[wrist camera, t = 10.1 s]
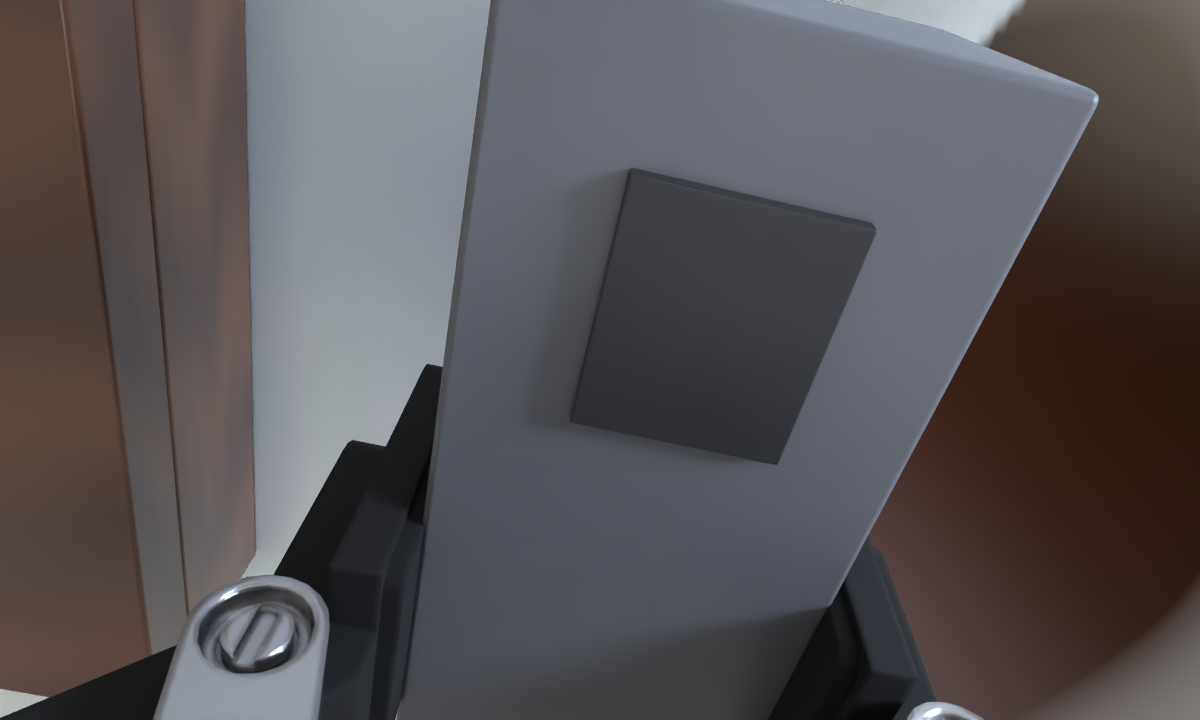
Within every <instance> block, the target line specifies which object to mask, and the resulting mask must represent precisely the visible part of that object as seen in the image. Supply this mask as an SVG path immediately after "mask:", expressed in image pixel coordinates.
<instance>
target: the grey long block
mask: <svg viewBox="0 0 1200 720" xmlns="http://www.w3.org/2000/svg"><path fill="white" fill-rule="evenodd" d="M1098 100H1099V97H1098V95H1097V94H1096V93H1095V92H1094V91H1093V90H1092V89H1090V88H1087V87H1084V86H1082V85H1079V84H1077V83H1075V82H1072V81H1069V80H1067V79H1065V78H1062V77H1060V76H1057V75H1054V74H1052V73H1049V72H1047V71H1044V70H1042V69H1039V68H1037V67H1034V66H1032V65H1029V64H1027V63H1024V62H1022V61H1019V60H1017V59H1014V58H1012V57H1009V56H1007V55H1004V54H1002V53H999V52H997V51H994V50H992V49H989V48H987V47H984V46H982V45H979V44H977V43H974V42H972V41H969V40H967V39H964V38H962V37H959V36H957V35H954V34H952V33H949V32H947V31H944V30H942V29H938V28H934V27H930V26H926V25H922V24H918V23H914V22H910V21H906V20H902V19H898V18H894V17H890V16H886V15H882V14H878V13H874V12H870V11H866V10H862V9H858V8H854V7H850V6H846V5H842V4H838V3H834V2H830V1H825V0H491V4H490V12H489V19H488V27H487V35H486V42H485V50H484V58H483V65H482V73H481V80H480V88H479V96H478V103H477V111H476V119H475V126H474V134H473V141H472V149H471V157H470V164H469V172H468V180H467V187H466V195H465V202H464V210H463V218H462V225H461V233H460V241H459V248H458V256H457V263H456V271H455V279H454V286H453V294H452V302H451V309H450V317H449V324H448V332H447V340H446V347H445V355H444V363H443V370H442V378H441V385H440V393H439V401H438V408H437V416H436V424H435V431H434V439H433V446H432V454H431V462H430V469H429V477H428V485H427V492H426V500H425V508H424V515H423V524H424V533H423V541H422V548H421V555H420V563H419V570H418V578H417V585H416V592H415V600H414V607H413V615H412V622H411V629H410V637H409V644H408V652H407V659H406V666H405V674H404V681H403V689H402V696H401V701H400V705H399V708H398V713H397V720H768V719H769V717H770V715H771V713H772V711H773V709H774V708H775V706H776V704H777V702H778V700H779V698H780V696H781V694H782V693H783V691H784V689H785V687H786V685H787V683H788V681H789V679H790V678H791V676H792V674H793V672H794V670H795V668H796V666H797V664H798V663H799V661H800V659H801V657H802V655H803V653H804V651H805V649H806V648H807V646H808V644H809V642H810V640H811V638H812V636H813V634H814V633H815V631H816V629H817V627H818V625H819V623H820V621H821V619H822V618H823V616H824V614H825V612H826V610H827V608H828V606H831V604H832V602H833V600H834V598H835V596H836V595H837V593H838V591H839V589H840V587H841V585H842V583H843V581H844V580H845V578H846V576H847V574H848V572H849V570H850V568H851V566H852V565H853V563H854V561H855V559H856V557H857V555H858V553H859V551H860V550H861V548H862V546H863V544H864V542H865V540H866V538H867V536H868V534H869V533H870V531H871V529H872V527H873V525H874V523H875V521H876V520H877V518H878V516H879V514H880V512H881V510H882V508H883V506H884V505H885V503H886V501H887V499H888V497H889V495H890V493H891V491H892V490H893V488H894V486H895V484H896V482H897V480H898V478H899V476H900V475H901V473H902V471H903V469H904V467H905V465H906V463H907V461H908V459H909V457H910V456H911V454H912V452H913V450H914V448H915V446H916V444H917V442H918V441H919V438H920V437H921V435H922V433H923V431H924V430H925V428H926V426H927V424H928V422H929V420H930V418H931V416H932V415H933V412H934V411H935V409H936V407H937V405H938V403H939V401H940V399H941V398H942V396H943V394H944V392H945V390H946V388H947V386H948V385H949V383H950V381H951V379H952V377H953V375H954V373H955V371H956V370H957V368H958V366H959V364H960V362H961V360H962V358H963V356H964V355H965V353H966V351H967V349H968V346H969V345H970V343H971V341H972V339H973V338H974V336H975V334H976V332H977V330H978V328H979V326H980V325H981V323H982V321H983V319H984V317H985V315H986V313H987V311H988V309H989V308H990V306H991V304H992V302H993V300H994V298H995V296H996V294H997V292H998V291H999V289H1000V287H1001V285H1002V283H1003V281H1004V279H1005V278H1006V276H1007V274H1008V272H1009V270H1010V268H1011V266H1012V265H1013V263H1014V261H1015V259H1016V257H1017V255H1018V253H1019V251H1020V250H1021V247H1022V246H1023V244H1024V242H1025V240H1026V238H1027V236H1028V235H1029V233H1030V231H1031V229H1032V227H1033V225H1034V223H1035V221H1036V220H1037V218H1038V216H1039V214H1040V212H1041V210H1042V208H1043V206H1044V204H1045V203H1046V201H1047V199H1048V197H1049V195H1050V193H1051V191H1052V189H1053V188H1054V186H1055V184H1056V182H1057V180H1058V178H1059V176H1060V175H1061V173H1062V170H1063V169H1064V167H1065V165H1066V163H1067V161H1068V160H1069V158H1070V156H1071V154H1072V152H1073V150H1074V148H1075V146H1076V144H1077V143H1078V141H1079V139H1080V137H1081V135H1082V133H1083V131H1084V129H1085V128H1086V126H1087V124H1088V122H1089V120H1090V118H1091V116H1092V114H1093V113H1094V111H1095V109H1096V107H1097V104H1098Z"/></svg>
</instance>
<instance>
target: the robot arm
mask: <svg viewBox="0 0 1200 720" xmlns="http://www.w3.org/2000/svg"><path fill="white" fill-rule="evenodd" d="M442 370H443V367H440V366H435V365H430V364H426V365H425V367H424V369H423V371H422V373H421V375H420V377H419V379H418V381H417V383H416V386H415V388H414V390H413V392H412V394H411V396H410V398H409V400H408V402H407V404H406V406H405V408H404V410H403V412H402V414H401V417H400V419H399V421H398V423H397V425H396V427H395V429H394V431H393V433H392V435H391V437H390V439H389V441H388V443H387V446H386V447H384V446H379V445H375V444H370V443H365V442H360V441H355V440H352V441H350V442H348V444H347V445H346V447H345V448H344V450H343V451H342V453H341V455H340V457H339V459H338V460H337V462H336V464H335V466H334V468H333V469H332V471H331V473H330V475H329V477H328V478H327V480H326V482H325V484H324V485H323V487H322V489H321V491H320V493H319V494H318V496H317V498H316V500H315V502H314V503H313V505H312V507H311V509H310V510H309V512H308V514H307V516H306V518H305V519H304V521H303V523H302V525H301V527H300V528H299V530H298V532H297V534H296V536H295V537H294V539H293V541H292V543H291V544H290V546H289V548H288V550H287V552H286V553H285V555H284V557H283V559H282V561H281V562H280V564H279V566H278V568H277V569H276V571H275V573H274V575H262V576H252V577H246V578H243V579H240V580H237V581H234V582H231V583H227V584H225V585H223V586H222V587H220V588H218V589H217V590H215V591H213V592H212V593H210V594H208V595H207V596H206V597H205V598H204V599H203V600H202V601H201V602H200V603H199V604H198V605H196V606H195V607H194V608H193V609H192V611H191V612H190V614H189V616H188V618H187V620H186V622H185V624H184V626H183V627H182V630H181V633H180V637H179V640H178V643H177V645H175V646H173V647H170V648H168V649H165V650H163V651H161V652H158V653H156V654H153V655H151V656H149V657H146V658H144V659H141V660H139V661H137V662H134V663H132V664H129V665H127V666H124V667H122V668H120V669H117V670H115V671H112V672H110V673H108V674H105V675H103V676H100V677H98V678H96V679H93V680H91V681H88V682H86V683H83V684H81V685H79V686H76V687H74V688H71V689H69V690H67V691H64V692H62V693H59V694H57V695H55V696H52V697H50V698H47V699H45V700H43V701H40V702H38V703H35V704H33V705H30V706H28V707H26V708H23V709H21V710H18V711H16V712H14V713H11V714H9V715H6V716H4V717H2V718H0V720H395V718H396V714H397V711H398V708H399V705H400V701H401V696H402V689H403V681H404V674H405V666H406V659H407V652H408V644H409V637H410V629H411V622H412V615H413V607H414V600H415V592H416V585H417V578H418V570H419V563H420V555H421V548H422V541H423V533H424V524H423V515H424V508H425V500H426V492H427V485H428V477H429V469H430V462H431V454H432V446H433V439H434V431H435V424H436V416H437V408H438V401H439V393H440V385H441V378H442ZM768 720H984V719H983V718H982V717H980V716H978V715H976V714H975V713H973V712H971V711H969V710H967V709H965V708H963V707H960V706H957V705H953V704H949V703H946V702H937V701H936V698H935V695H934V693H933V690H932V687H931V684H930V681H929V679H928V676H927V673H926V671H925V668H924V665H923V663H922V660H921V657H920V654H919V652H918V649H917V646H916V644H915V641H914V638H913V635H912V633H911V630H910V627H909V624H908V622H907V619H906V616H905V614H904V611H903V608H902V605H901V603H900V600H899V598H898V595H897V592H896V589H895V586H894V584H893V581H892V578H891V576H890V573H889V570H888V568H887V565H886V562H885V559H884V557H883V555H882V554H881V552H880V550H879V549H877V548H876V547H875V546H872V544H871V541H870V539H869V536H867V538H866V540H865V542H864V544H863V546H862V548H861V550H860V551H859V553H858V555H857V557H856V559H855V561H854V563H853V565H852V566H851V568H850V570H849V572H848V574H847V576H846V578H845V580H844V581H843V583H842V585H841V587H840V589H839V591H838V593H837V595H836V596H835V598H834V600H833V602H832V604H831V606H828V608H827V610H826V612H825V614H824V616H823V618H822V619H821V621H820V623H819V625H818V627H817V629H816V631H815V633H814V634H813V636H812V638H811V640H810V642H809V644H808V646H807V648H806V649H805V651H804V653H803V655H802V657H801V659H800V661H799V663H798V664H797V666H796V668H795V670H794V672H793V674H792V676H791V678H790V679H789V681H788V683H787V685H786V687H785V689H784V691H783V693H782V694H781V696H780V698H779V700H778V702H777V704H776V706H775V708H774V709H773V711H772V713H771V715H770V717H769V719H768Z"/></svg>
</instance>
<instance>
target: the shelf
mask: <svg viewBox="0 0 1200 720" xmlns="http://www.w3.org/2000/svg"><path fill="white" fill-rule="evenodd" d="M254 555H255V519H254V468H253V417H252V366H251V315H250V263H249V212H248V161H247V110H246V59H245V7H244V0H0V689H5V690H11V691H16V692H22V693H28V694H34V695H39V696H45V697H52V696H55V695H57V694H59V693H62V692H64V691H67V690H69V689H71V688H74V687H76V686H79V685H81V684H83V683H86V682H88V681H91V680H93V679H96V678H98V677H100V676H103V675H105V674H108V673H110V672H112V671H115V670H117V669H120V668H122V667H124V666H127V665H129V664H132V663H134V662H137V661H139V660H141V659H144V658H146V657H149V656H151V655H153V654H156V653H158V652H161V651H163V650H165V649H168V648H170V647H173V646H175V645H177V643H178V640H179V637H180V633H181V630H182V627H183V626H184V624H185V622H186V620H187V618H188V616H189V614H190V612H191V611H192V609H193V608H194V607H195V606H196V605H198V604H199V603H200V602H201V601H202V600H203V599H204V598H205V597H206V596H207V595H208V594H210V593H212V592H213V591H215V590H217V589H218V588H220V587H222V586H223V585H225V584H227V583H231V582H234V581H237V580H240V578H241V577H242V575H243V573H244V572H245V570H246V568H247V567H248V565H249V563H250V562H251V560H252V558H253V557H254Z"/></svg>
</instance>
